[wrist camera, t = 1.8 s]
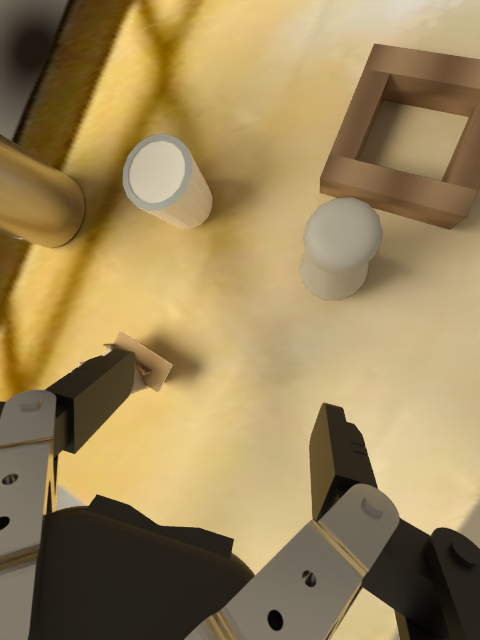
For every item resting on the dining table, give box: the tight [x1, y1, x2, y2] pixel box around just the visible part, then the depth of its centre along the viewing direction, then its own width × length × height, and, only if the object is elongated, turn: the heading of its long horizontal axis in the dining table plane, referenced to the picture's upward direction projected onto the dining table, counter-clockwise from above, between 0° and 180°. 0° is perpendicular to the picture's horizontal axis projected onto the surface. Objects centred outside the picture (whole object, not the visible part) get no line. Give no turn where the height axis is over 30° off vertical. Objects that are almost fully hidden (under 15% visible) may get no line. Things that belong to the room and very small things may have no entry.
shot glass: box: [123, 134, 213, 229], centre depth 29 cm, size 7×7×7 cm
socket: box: [320, 44, 480, 229], centre depth 26 cm, size 12×12×3 cm
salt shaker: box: [299, 197, 382, 300], centre depth 22 cm, size 6×6×13 cm
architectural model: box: [78, 332, 173, 394], centre depth 30 cm, size 3×7×7 cm, turn 61°
